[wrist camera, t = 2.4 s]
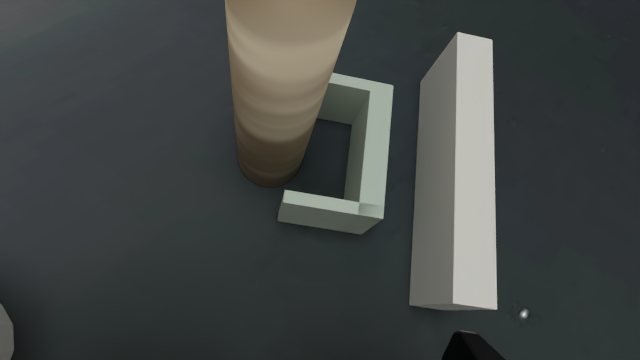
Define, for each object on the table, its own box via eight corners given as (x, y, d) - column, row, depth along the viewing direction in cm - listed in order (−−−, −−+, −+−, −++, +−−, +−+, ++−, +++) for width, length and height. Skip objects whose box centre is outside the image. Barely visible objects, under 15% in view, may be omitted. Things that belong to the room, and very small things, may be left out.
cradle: (277, 221, 22) (282, 202, 18) (296, 105, 24) (304, 67, 21) (360, 234, 22) (383, 219, 19) (371, 119, 25) (393, 85, 21)
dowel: (310, 175, 23) (378, 22, 11) (250, 196, 22) (251, 54, 10) (287, 120, 24) (326, -78, 12) (228, 138, 23) (204, -58, 11)
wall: (409, 305, 22) (452, 303, 17) (420, 81, 26) (457, 31, 22) (444, 310, 22) (496, 309, 17) (449, 87, 27) (492, 39, 22)
